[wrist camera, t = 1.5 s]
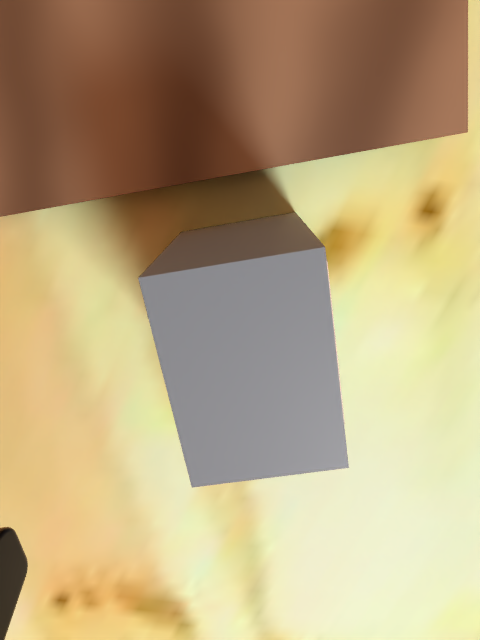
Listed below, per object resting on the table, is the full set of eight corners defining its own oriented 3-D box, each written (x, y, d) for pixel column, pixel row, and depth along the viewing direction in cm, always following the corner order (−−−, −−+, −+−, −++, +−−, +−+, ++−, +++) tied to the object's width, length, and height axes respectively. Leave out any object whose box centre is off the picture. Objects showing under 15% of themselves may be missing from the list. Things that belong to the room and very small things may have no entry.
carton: (211, 373, 22) (191, 487, 14) (181, 231, 19) (138, 277, 12) (317, 358, 21) (355, 467, 14) (299, 211, 19) (332, 245, 11)
